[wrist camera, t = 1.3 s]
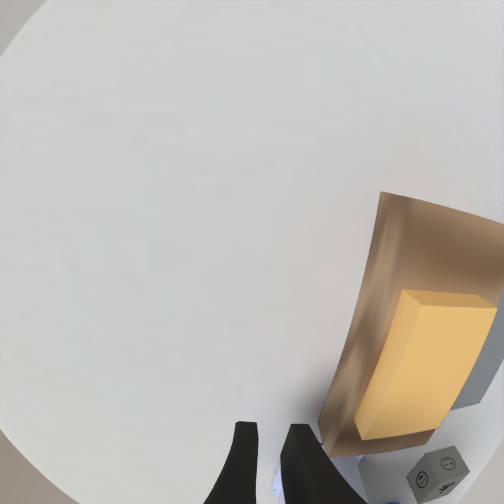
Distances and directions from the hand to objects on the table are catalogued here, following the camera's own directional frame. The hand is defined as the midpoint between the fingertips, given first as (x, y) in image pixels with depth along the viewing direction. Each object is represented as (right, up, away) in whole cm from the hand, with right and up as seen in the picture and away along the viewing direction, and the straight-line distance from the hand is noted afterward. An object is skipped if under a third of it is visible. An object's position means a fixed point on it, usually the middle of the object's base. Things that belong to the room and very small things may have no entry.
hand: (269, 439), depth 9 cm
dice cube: (+21, -19, +16) cm, 32 cm away
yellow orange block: (+9, 0, +6) cm, 11 cm away
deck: (+10, +1, +10) cm, 14 cm away
